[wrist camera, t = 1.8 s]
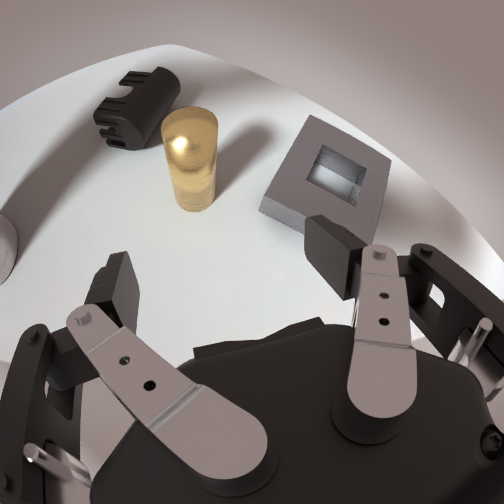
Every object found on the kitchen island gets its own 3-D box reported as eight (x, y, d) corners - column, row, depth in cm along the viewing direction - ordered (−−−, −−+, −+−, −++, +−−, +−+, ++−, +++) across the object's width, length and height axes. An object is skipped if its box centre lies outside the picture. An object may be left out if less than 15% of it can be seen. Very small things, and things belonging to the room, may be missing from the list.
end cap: (149, 158, 30) (139, 120, 24) (104, 148, 30) (88, 113, 23) (182, 105, 33) (180, 68, 27) (139, 98, 33) (132, 63, 27)
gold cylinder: (167, 201, 29) (149, 135, 18) (188, 171, 30) (182, 100, 20) (202, 218, 29) (198, 155, 18) (222, 187, 30) (228, 117, 20)
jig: (258, 210, 30) (264, 195, 26) (302, 131, 34) (309, 114, 31) (354, 261, 29) (369, 251, 26) (378, 173, 34) (391, 160, 31)
